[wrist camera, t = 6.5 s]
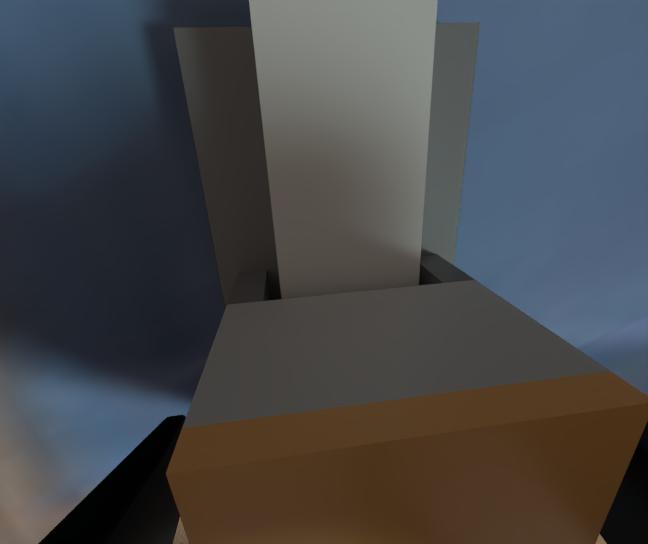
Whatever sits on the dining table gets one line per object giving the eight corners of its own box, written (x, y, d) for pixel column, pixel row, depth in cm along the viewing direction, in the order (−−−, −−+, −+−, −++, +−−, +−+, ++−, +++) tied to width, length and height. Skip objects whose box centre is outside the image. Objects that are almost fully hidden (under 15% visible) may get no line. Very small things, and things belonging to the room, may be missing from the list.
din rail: (417, 492, 15) (442, 555, 13) (269, 516, 14) (266, 587, 12) (457, 36, 8) (525, -7, 6) (186, 42, 8) (144, -4, 5)
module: (423, 418, 12) (547, 654, 6) (266, 440, 11) (249, 721, 6) (437, 254, 9) (655, 402, 4) (238, 273, 9) (165, 473, 3)
